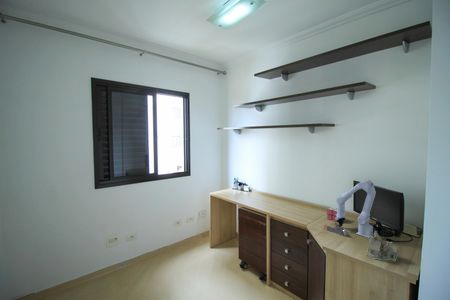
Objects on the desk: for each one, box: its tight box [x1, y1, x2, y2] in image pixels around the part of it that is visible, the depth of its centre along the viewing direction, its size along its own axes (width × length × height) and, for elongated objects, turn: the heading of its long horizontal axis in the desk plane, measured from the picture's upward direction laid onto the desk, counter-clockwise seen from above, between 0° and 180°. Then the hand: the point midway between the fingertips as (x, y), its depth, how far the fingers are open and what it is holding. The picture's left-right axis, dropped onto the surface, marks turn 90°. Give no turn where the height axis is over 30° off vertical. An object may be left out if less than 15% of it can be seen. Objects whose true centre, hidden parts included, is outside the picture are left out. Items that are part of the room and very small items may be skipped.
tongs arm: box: [333, 222, 346, 231], centre depth 179 cm, size 15×2×4 cm, turn 1°
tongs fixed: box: [323, 224, 348, 237], centre depth 176 cm, size 18×3×4 cm, turn 36°
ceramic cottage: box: [365, 230, 399, 261], centre depth 140 cm, size 16×16×15 cm
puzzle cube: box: [326, 206, 338, 223], centre depth 204 cm, size 10×10×10 cm
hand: (340, 225), depth 185 cm, fingers closed
